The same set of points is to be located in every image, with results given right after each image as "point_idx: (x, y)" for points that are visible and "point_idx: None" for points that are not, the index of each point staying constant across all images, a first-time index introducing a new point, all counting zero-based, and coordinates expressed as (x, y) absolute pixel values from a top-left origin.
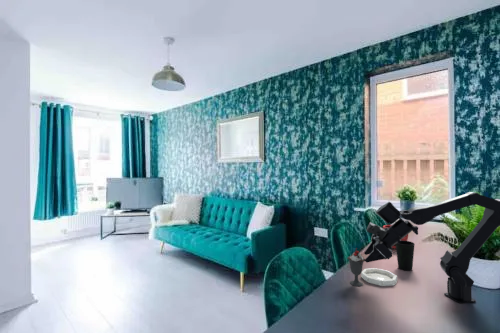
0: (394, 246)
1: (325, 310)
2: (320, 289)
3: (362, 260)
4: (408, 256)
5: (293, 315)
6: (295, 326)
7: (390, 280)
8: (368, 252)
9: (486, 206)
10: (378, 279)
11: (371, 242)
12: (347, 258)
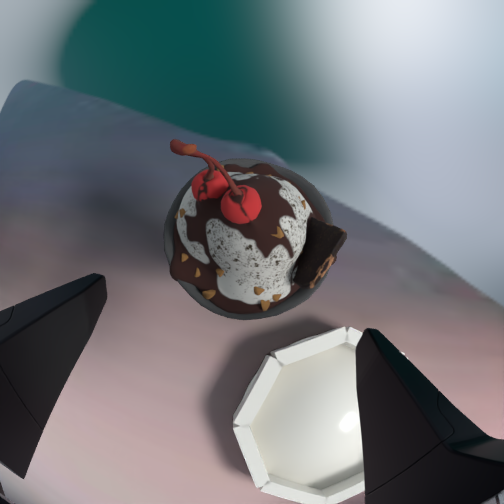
0: None
1: (33, 145)
2: (160, 125)
3: (202, 283)
4: None
5: (37, 90)
6: (7, 103)
7: (250, 470)
8: (365, 379)
9: None
10: (252, 410)
11: (472, 439)
12: (251, 159)
